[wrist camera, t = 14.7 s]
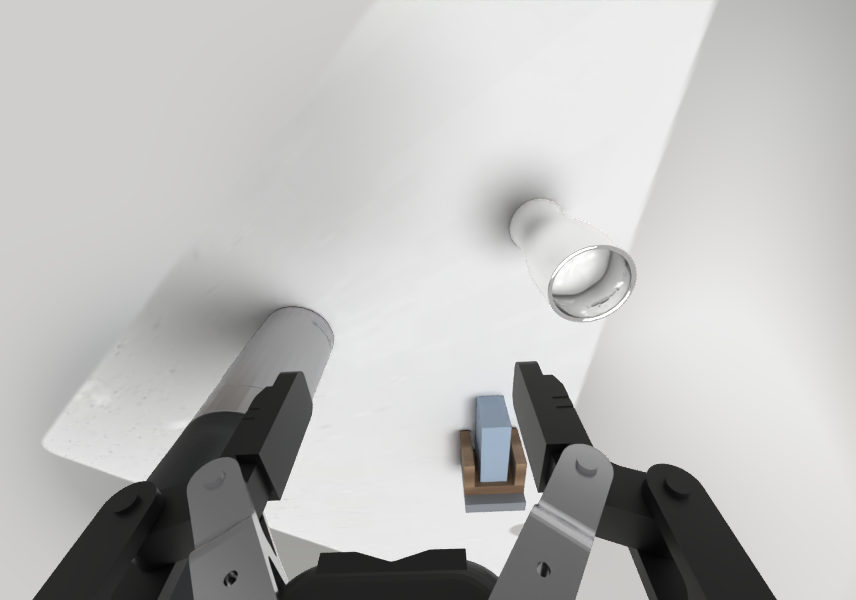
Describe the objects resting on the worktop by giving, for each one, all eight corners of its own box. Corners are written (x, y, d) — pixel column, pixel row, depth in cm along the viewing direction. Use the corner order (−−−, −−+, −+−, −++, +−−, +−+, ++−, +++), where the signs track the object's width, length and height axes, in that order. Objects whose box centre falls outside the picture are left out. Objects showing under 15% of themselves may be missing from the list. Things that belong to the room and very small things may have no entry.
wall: (461, 457, 59) (465, 505, 52) (514, 455, 59) (526, 502, 52) (461, 465, 60) (465, 512, 53) (513, 462, 60) (524, 510, 53)
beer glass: (557, 257, 41) (618, 328, 28) (499, 251, 41) (534, 320, 27) (576, 197, 38) (656, 247, 24) (513, 190, 37) (561, 237, 24)
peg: (476, 395, 52) (482, 428, 47) (503, 394, 52) (511, 426, 47) (475, 448, 58) (480, 482, 53) (499, 447, 58) (506, 481, 53)
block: (460, 431, 55) (464, 466, 50) (517, 428, 55) (527, 463, 50) (461, 459, 59) (464, 495, 53) (514, 456, 58) (523, 492, 53)
